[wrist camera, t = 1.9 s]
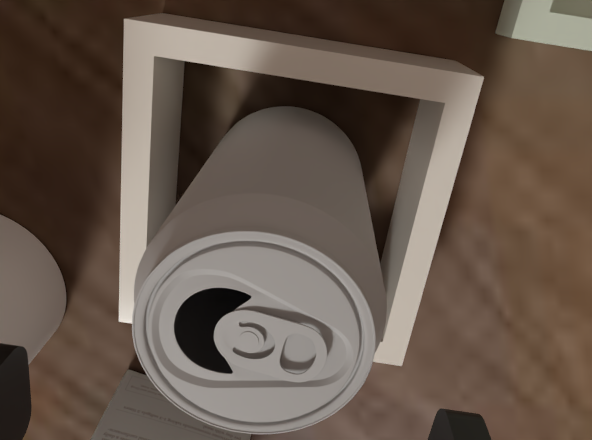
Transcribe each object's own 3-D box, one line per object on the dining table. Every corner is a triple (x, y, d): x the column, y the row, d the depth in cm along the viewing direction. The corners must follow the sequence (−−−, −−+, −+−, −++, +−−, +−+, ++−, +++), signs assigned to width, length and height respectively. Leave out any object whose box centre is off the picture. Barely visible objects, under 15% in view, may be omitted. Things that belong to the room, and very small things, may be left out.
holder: (455, 60, 21) (484, 76, 17) (390, 309, 26) (401, 366, 22) (161, 12, 21) (124, 18, 17) (150, 271, 25) (118, 321, 22)
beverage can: (229, 85, 22) (128, 183, 11) (381, 124, 22) (433, 258, 11) (203, 223, 24) (99, 417, 13) (339, 256, 25) (348, 473, 14)
